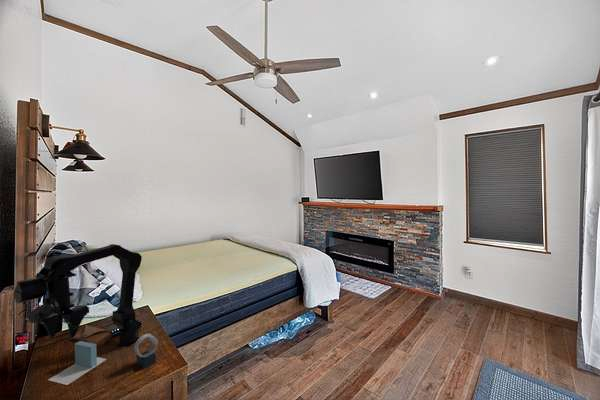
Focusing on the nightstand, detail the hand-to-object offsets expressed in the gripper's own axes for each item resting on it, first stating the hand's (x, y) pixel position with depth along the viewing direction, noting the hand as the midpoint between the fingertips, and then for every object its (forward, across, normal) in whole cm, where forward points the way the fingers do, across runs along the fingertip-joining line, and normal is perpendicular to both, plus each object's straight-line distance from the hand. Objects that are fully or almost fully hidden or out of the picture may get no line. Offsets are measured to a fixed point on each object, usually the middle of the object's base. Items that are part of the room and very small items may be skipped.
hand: (62, 337), depth 91 cm
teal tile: (+15, -2, +8) cm, 17 cm away
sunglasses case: (+13, -18, +22) cm, 32 cm away
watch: (+18, +19, +15) cm, 30 cm away
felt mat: (+15, -2, +6) cm, 16 cm away
